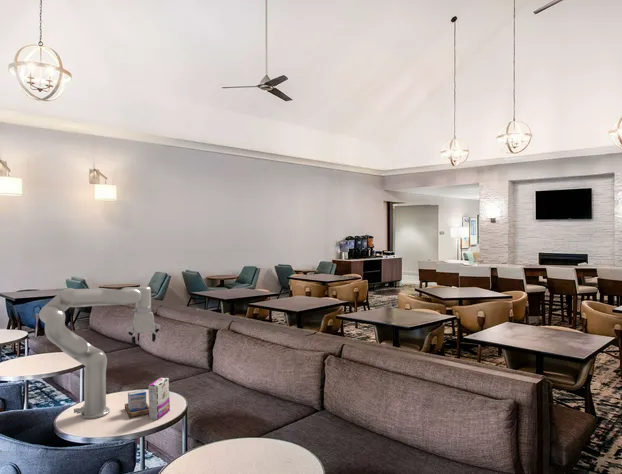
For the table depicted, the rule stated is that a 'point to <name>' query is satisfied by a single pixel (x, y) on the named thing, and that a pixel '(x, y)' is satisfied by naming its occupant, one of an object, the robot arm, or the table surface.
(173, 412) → the table surface
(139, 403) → the medicine box
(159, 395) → the candy bar box
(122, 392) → the table surface
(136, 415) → the walnut tray
